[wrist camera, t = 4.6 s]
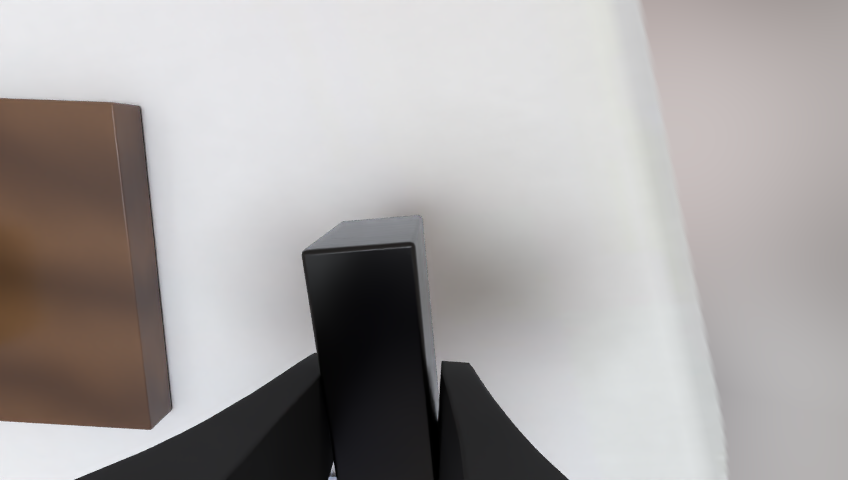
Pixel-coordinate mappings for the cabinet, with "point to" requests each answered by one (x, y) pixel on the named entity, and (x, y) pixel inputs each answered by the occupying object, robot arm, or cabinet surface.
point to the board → (78, 268)
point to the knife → (376, 347)
